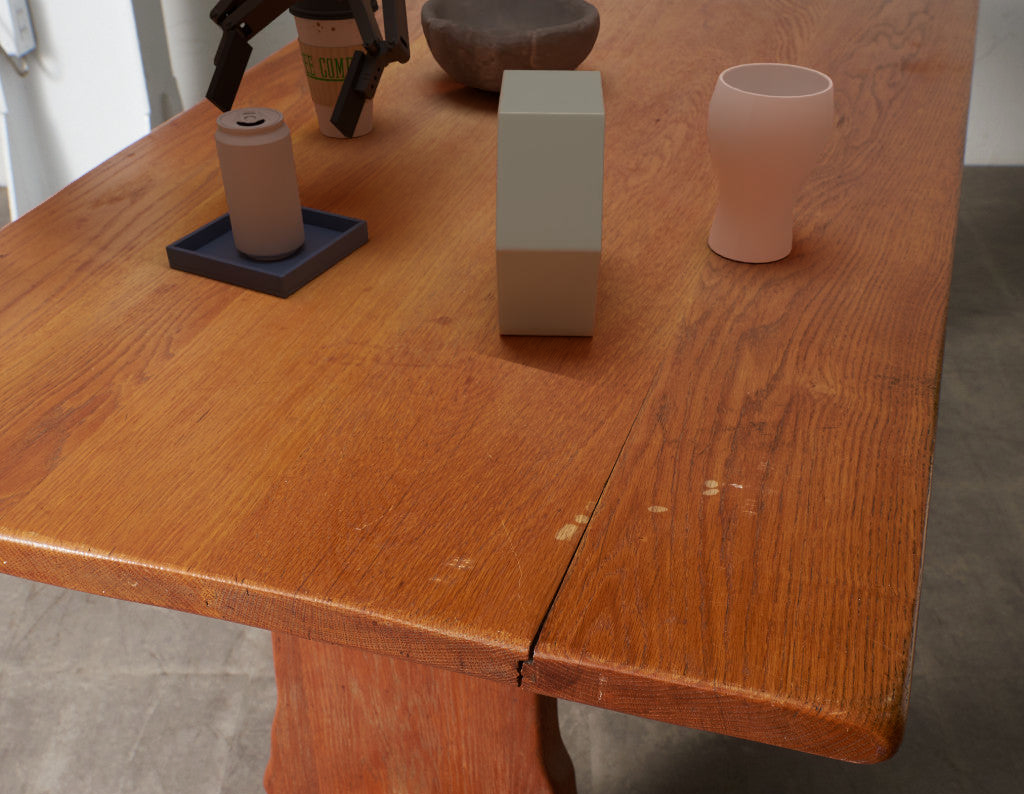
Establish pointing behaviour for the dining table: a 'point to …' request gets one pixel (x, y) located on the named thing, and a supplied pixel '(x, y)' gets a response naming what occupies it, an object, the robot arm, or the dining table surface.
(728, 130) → the cup
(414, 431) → the dining table surface
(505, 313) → the grey beige box
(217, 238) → the tray
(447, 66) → the bowl
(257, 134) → the beverage can
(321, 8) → the coffee cup
